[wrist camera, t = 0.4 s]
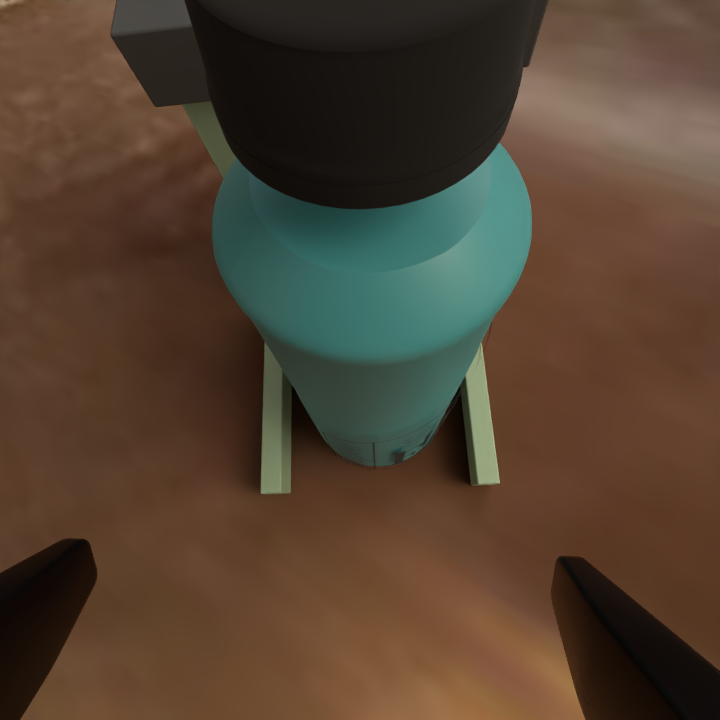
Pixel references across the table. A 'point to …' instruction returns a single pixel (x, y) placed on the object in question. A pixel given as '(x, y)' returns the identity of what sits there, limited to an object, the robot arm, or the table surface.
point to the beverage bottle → (368, 198)
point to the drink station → (189, 87)
